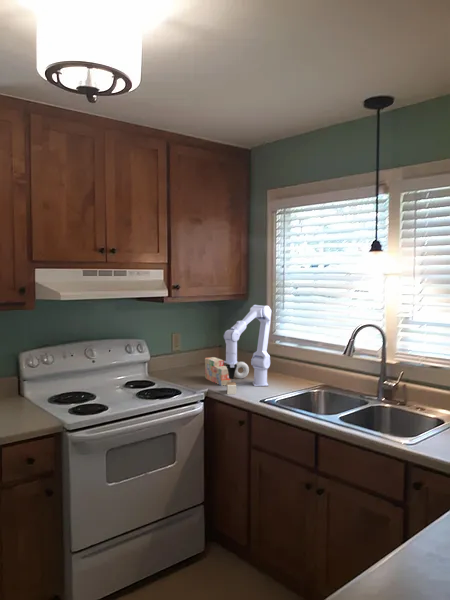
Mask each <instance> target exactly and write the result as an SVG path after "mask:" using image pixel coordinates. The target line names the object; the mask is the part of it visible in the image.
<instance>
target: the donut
mask: <svg viewBox="0 0 450 600" xmlns="http://www.w3.org/2000/svg"><path fill="white" fill-rule="evenodd" d="M236 364H237V368H236V370H235V374H234V378H237V379H240V380H241V379H244V378H246V377H247V376H249V375H248V374H249V371H250V367H249V365H248V364H247V363H246V362H245V361H237V363H236ZM239 369H242V372H239Z"/></svg>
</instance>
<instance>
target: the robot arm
mask: <svg viewBox="0 0 450 600" xmlns="http://www.w3.org/2000/svg"><path fill="white" fill-rule="evenodd" d="M254 319H257V320H258V321H259V322H260V325H259V331H258V332H259V333H258V339H257V348H256V351H255V352H253V353H252V358H251V359H250V360H251V361H250V364H251V366H252V369H253V380H252V385H253V387H269V384H268V370H269V368H270V366H271V356H270V354H269V353H268V344H269V335H270V329H271V319H272V309H271V307H270V306H269V305H262V304H261V305H259V304H253V305H252V306H251V307H250V308H249V312H248V313H247V314H246V315H245V316H244V317H243V318H242V320H237V321H236V323H235V324H234V325H233V326H231V327H230V329H227V330H225V331H224V333H223V339H224V341H225V360H224V364H225V366H226V367H227V369H228V374H229V379H231V380H233V379H234V378H235V376H234V374H235V370H236V368H237V364H236V363H237V362H238V341H239V340H240V336H241V335H242V333H244V332H245V330H246V329H247V326H248V324H250V323H251V322H252V321H253V320H254Z"/></svg>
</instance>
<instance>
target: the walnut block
mask: <svg viewBox="0 0 450 600" xmlns="http://www.w3.org/2000/svg"><path fill="white" fill-rule="evenodd" d="M226 394H227V395H237V383H236V381H231V382H227V385H226Z"/></svg>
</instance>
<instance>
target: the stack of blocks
mask: <svg viewBox="0 0 450 600" xmlns="http://www.w3.org/2000/svg"><path fill="white" fill-rule="evenodd" d="M224 361H225V360H223V359H221V358H218V357H215V356H212V357H205V358H204V372H205V373H204V377H205V379H206V380H207V381H210V382H213V383H214V382H215V384H216V383H217V385H218V384H219V386H221V387H223V385H224V386H227V382H232V379H229V374H228V369H227V367H226V365H224V364H225V363H224Z"/></svg>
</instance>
